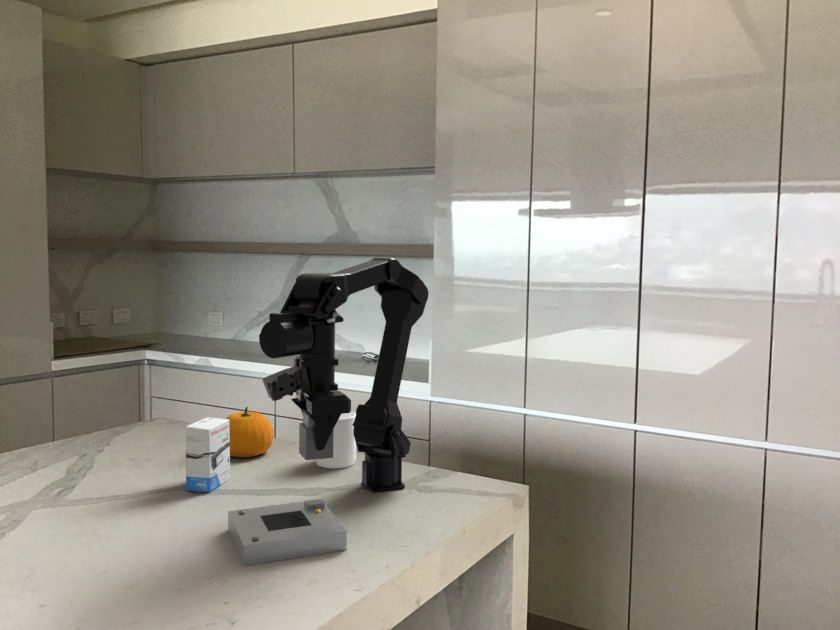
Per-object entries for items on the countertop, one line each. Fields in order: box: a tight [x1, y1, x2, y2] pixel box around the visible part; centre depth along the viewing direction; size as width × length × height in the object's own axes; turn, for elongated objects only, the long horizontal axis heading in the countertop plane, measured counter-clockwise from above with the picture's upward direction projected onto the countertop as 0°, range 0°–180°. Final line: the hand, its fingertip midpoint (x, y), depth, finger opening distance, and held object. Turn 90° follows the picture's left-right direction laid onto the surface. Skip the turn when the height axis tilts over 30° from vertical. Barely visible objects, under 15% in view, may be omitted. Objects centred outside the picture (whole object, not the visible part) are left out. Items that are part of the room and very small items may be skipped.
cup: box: [314, 410, 357, 470], centre depth 151 cm, size 8×12×10 cm
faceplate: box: [227, 498, 348, 567], centre depth 114 cm, size 15×14×4 cm
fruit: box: [225, 406, 275, 458], centre depth 158 cm, size 12×12×10 cm
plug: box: [298, 412, 333, 461], centre depth 122 cm, size 4×4×7 cm
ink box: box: [184, 416, 231, 493], centre depth 138 cm, size 8×5×12 cm, turn 168°
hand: (316, 446), depth 122 cm, fingers closed on plug, 4 cm apart
